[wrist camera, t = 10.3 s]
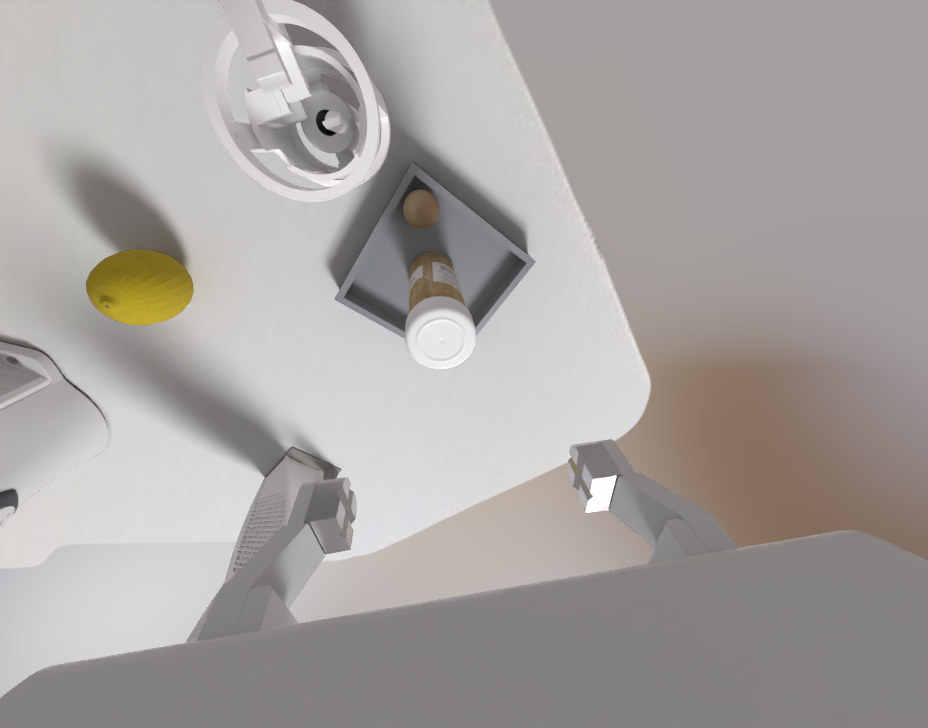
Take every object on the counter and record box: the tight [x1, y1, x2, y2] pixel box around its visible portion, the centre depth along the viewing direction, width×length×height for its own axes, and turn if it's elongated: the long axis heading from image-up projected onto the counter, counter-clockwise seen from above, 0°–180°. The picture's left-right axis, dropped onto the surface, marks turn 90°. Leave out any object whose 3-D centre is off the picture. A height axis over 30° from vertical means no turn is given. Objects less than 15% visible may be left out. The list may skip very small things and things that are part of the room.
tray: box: [335, 162, 536, 338], centre depth 32 cm, size 13×13×2 cm
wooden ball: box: [403, 189, 440, 229], centre depth 28 cm, size 3×3×3 cm
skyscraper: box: [186, 447, 341, 643], centre depth 34 cm, size 8×8×28 cm
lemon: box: [86, 249, 193, 325], centre depth 27 cm, size 6×6×8 cm
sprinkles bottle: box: [405, 252, 476, 369], centre depth 27 cm, size 5×5×14 cm
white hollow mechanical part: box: [201, 0, 391, 202], centre depth 20 cm, size 7×7×15 cm
